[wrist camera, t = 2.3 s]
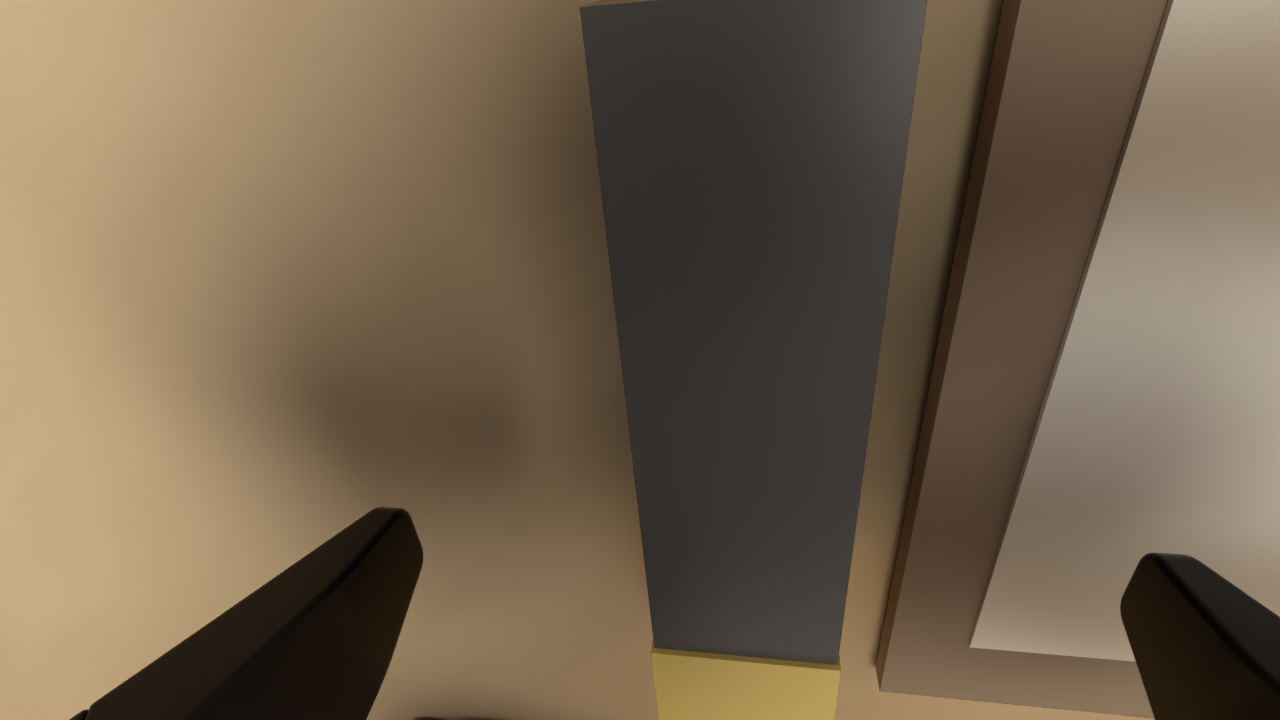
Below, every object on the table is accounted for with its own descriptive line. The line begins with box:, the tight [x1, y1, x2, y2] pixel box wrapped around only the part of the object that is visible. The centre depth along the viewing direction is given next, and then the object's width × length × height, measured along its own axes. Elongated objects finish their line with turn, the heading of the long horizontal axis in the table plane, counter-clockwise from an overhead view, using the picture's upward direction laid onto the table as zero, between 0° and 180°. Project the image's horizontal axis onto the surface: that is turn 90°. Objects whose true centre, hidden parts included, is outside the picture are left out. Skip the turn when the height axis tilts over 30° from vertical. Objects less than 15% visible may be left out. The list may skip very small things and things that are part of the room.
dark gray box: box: [580, 0, 927, 720], centre depth 9 cm, size 14×3×3 cm, turn 5°
